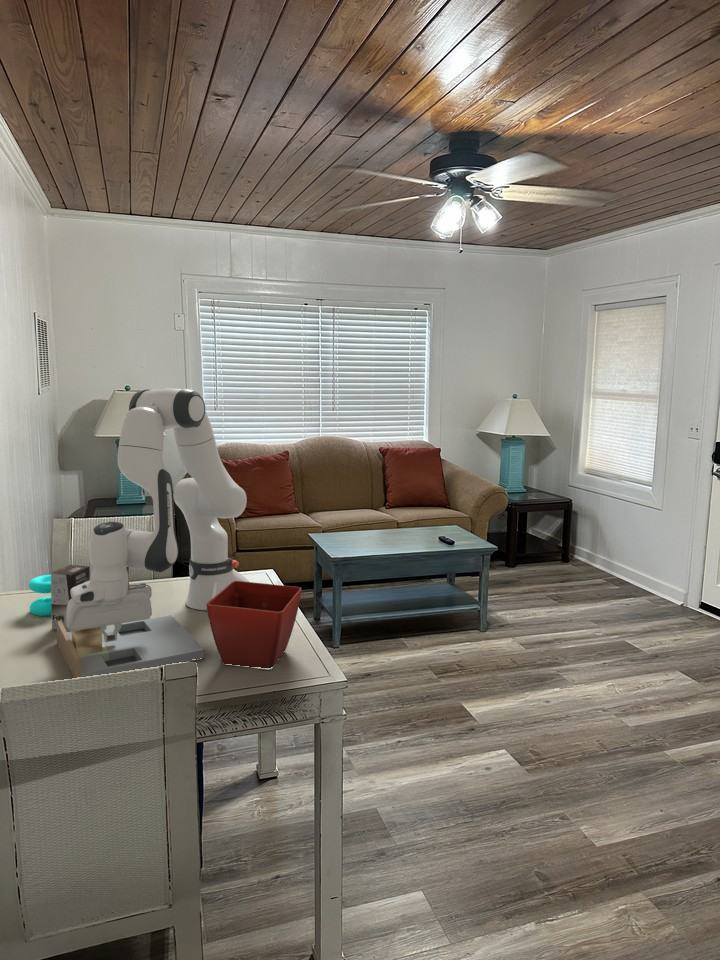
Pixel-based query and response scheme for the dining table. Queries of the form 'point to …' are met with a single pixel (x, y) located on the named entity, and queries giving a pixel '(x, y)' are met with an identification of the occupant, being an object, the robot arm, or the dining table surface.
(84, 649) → the oak block
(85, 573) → the coffee box
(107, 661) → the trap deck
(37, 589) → the cyan spool
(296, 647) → the dining table surface
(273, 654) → the plant pot
